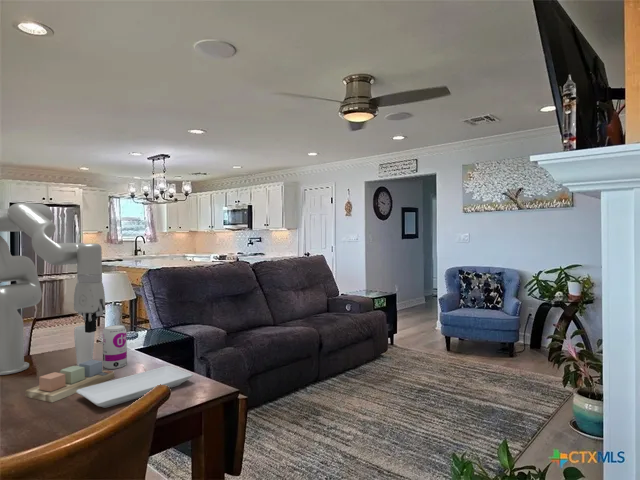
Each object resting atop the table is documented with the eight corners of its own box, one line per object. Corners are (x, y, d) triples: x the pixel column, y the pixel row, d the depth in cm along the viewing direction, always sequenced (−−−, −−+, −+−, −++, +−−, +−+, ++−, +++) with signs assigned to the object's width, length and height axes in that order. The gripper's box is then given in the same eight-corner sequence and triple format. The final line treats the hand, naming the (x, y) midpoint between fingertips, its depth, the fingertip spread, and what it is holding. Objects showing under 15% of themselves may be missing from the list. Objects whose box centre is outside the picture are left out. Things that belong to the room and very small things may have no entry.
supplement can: (131, 365, 162) (130, 326, 162) (110, 371, 155) (110, 330, 155) (118, 361, 167) (118, 323, 166) (98, 367, 160) (98, 327, 159)
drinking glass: (86, 369, 157) (85, 329, 157) (70, 368, 159) (69, 328, 158) (98, 363, 164) (98, 325, 164) (83, 362, 165) (83, 324, 165)
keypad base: (25, 396, 132) (25, 389, 132) (89, 373, 153) (89, 366, 153) (52, 402, 127) (52, 395, 127) (114, 377, 149) (114, 371, 149)
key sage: (60, 382, 139) (60, 370, 139) (74, 377, 143) (73, 365, 143) (71, 384, 137) (71, 372, 137) (84, 379, 142) (84, 367, 141)
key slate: (79, 375, 145) (79, 363, 145) (91, 370, 150) (91, 359, 150) (89, 377, 143) (89, 365, 143) (102, 372, 148) (102, 361, 148)
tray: (74, 400, 130) (74, 388, 130) (168, 373, 154) (168, 364, 154) (97, 415, 119) (97, 403, 119) (194, 384, 143) (194, 374, 143)
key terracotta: (39, 389, 132) (39, 377, 132) (54, 384, 137) (54, 372, 137) (50, 391, 130) (50, 379, 130) (65, 386, 135) (65, 373, 135)
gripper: (64, 279, 145) (65, 332, 145) (96, 281, 140) (97, 336, 140) (83, 277, 152) (84, 327, 152) (115, 278, 147) (115, 331, 147)
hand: (90, 331), depth 146 cm, fingers closed
